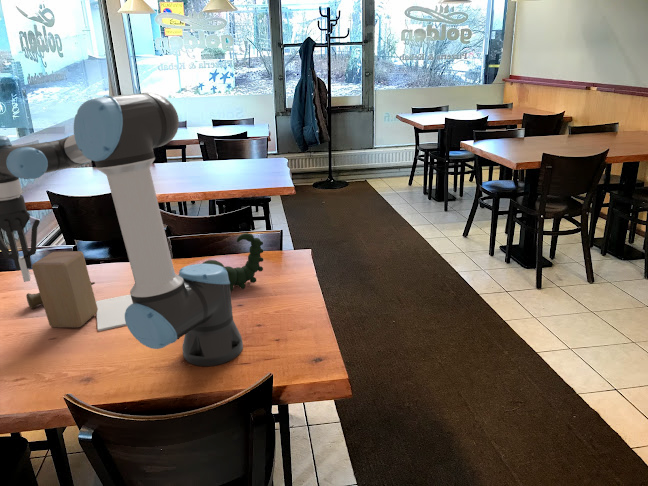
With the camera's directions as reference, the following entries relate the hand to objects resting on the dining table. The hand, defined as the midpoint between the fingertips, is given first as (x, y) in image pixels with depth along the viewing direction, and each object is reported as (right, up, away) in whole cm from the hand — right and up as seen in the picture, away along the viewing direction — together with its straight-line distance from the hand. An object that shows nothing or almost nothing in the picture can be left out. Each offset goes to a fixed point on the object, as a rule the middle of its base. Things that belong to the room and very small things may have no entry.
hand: (27, 279), depth 142 cm
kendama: (-1, -8, +23) cm, 25 cm away
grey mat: (+22, -10, +14) cm, 28 cm away
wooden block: (+9, -13, +9) cm, 18 cm away
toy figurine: (+51, -5, +26) cm, 57 cm away
